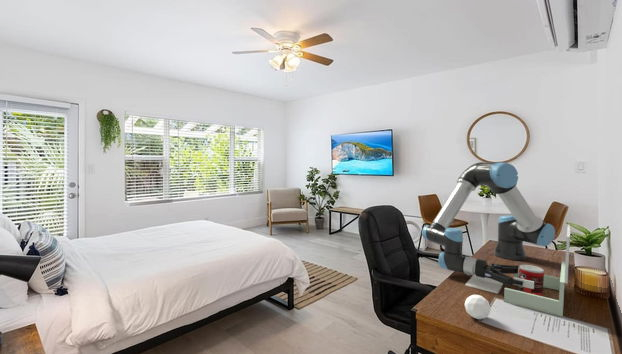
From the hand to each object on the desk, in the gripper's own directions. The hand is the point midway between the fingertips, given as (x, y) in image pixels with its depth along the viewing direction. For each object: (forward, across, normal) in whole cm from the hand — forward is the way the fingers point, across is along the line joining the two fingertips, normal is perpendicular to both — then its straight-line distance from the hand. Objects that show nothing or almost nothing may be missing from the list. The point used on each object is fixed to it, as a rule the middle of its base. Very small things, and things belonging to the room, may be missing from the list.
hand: (535, 280), depth 119 cm
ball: (-13, +34, -7) cm, 37 cm away
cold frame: (0, 0, -6) cm, 6 cm away
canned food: (-1, 0, -7) cm, 7 cm away
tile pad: (-18, 0, -6) cm, 19 cm away
